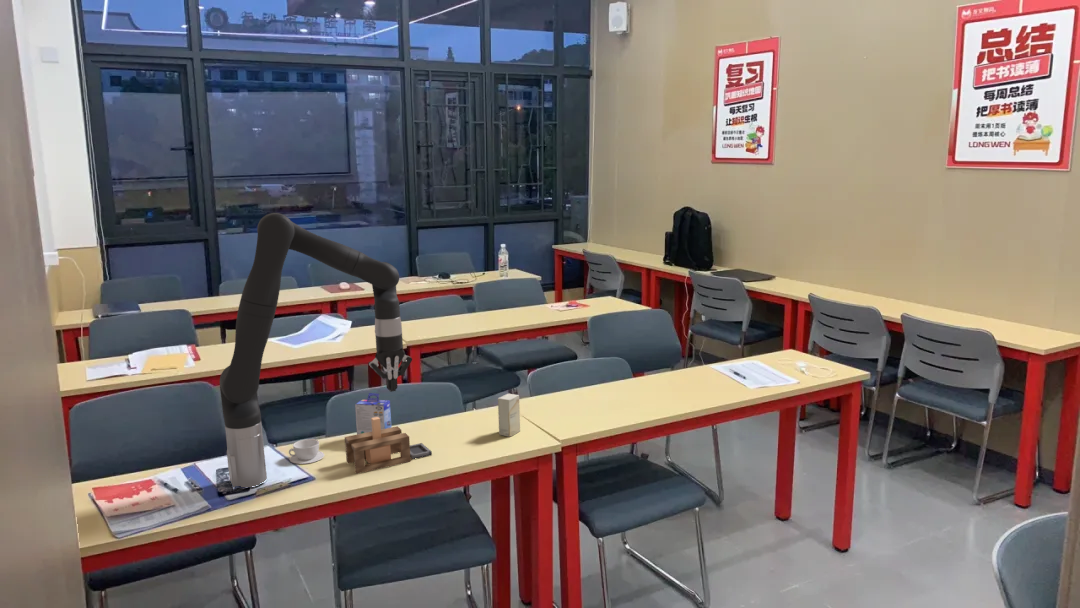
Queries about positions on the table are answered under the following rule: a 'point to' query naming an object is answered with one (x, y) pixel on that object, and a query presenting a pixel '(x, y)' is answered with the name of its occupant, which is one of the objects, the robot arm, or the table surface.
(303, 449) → the teacup
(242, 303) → the robot arm
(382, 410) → the ink cartridge box
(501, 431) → the skincare box
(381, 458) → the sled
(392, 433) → the tunnel
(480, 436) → the table surface
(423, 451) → the tray
